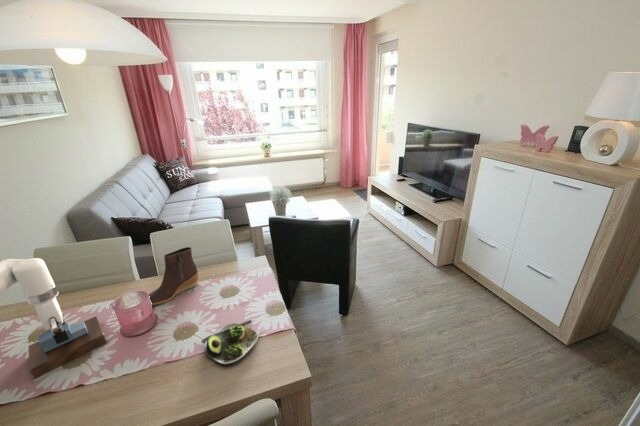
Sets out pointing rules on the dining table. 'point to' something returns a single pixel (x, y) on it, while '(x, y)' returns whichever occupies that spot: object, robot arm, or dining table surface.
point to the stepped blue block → (73, 333)
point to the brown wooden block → (65, 350)
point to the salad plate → (230, 343)
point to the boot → (176, 276)
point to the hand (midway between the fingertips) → (61, 333)
